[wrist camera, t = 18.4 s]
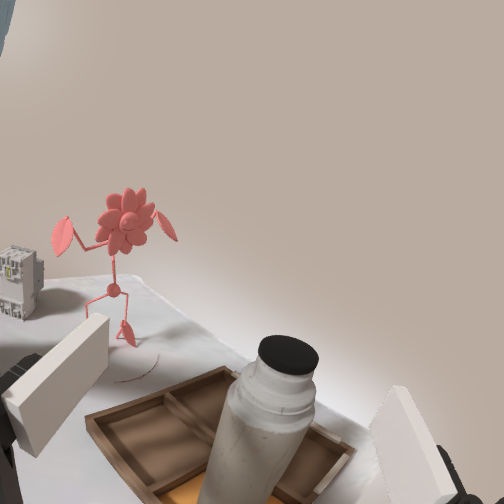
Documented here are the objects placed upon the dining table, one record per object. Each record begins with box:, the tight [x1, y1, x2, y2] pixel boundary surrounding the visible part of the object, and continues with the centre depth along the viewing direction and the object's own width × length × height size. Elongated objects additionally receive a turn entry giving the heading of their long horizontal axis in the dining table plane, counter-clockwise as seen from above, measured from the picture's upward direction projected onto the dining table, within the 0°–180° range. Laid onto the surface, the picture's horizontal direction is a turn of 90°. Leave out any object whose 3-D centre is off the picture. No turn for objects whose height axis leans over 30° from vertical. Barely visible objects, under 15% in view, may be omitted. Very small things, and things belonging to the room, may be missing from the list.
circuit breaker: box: [0, 245, 44, 322], centre depth 62 cm, size 8×14×15 cm, turn 9°
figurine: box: [52, 188, 178, 382], centre depth 54 cm, size 15×26×35 cm, turn 145°
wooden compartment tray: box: [85, 366, 355, 504], centre depth 41 cm, size 31×31×4 cm
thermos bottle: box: [196, 335, 319, 504], centre depth 27 cm, size 8×8×28 cm
